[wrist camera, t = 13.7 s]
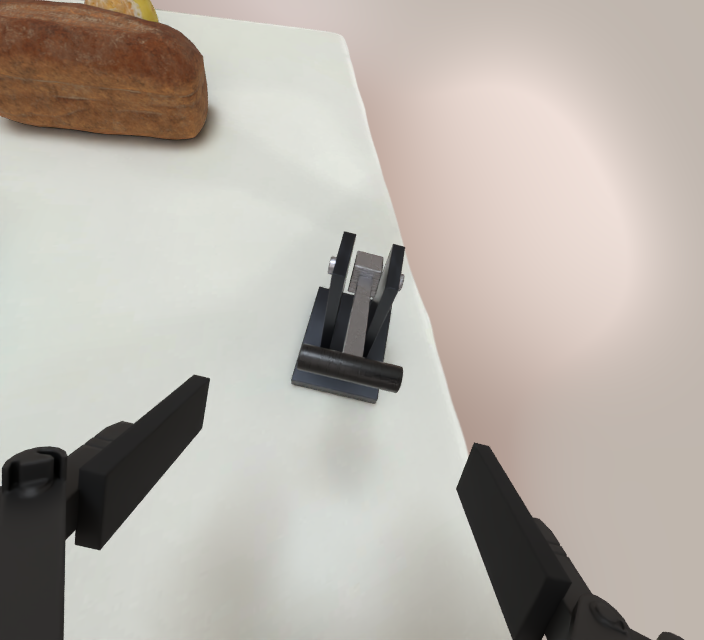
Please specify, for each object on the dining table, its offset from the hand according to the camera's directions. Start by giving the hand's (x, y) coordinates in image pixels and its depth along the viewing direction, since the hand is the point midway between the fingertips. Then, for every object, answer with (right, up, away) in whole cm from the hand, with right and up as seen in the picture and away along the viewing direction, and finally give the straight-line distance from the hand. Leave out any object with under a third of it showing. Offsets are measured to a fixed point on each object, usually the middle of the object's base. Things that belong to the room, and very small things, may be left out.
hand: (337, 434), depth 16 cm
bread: (-36, +37, +35) cm, 62 cm away
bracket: (0, +3, +22) cm, 22 cm away
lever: (+1, +5, +7) cm, 9 cm away
